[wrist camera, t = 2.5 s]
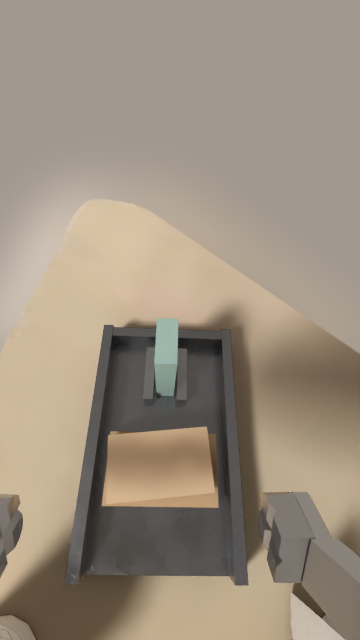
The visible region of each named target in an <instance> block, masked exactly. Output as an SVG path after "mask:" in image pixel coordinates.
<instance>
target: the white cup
mask: <svg viewBox="0 0 360 640" xmlns="http://www.w3.org/2000/svg"><path fill="white" fill-rule="evenodd" d="M0 640H36V639H35V637H34V635H33V633H32V631H31V629H30V627H29V625H28V624H27V623H25V622H23V621H22V620H20V619H18V618H16V617H14V616H13V615H6V616H0Z"/></svg>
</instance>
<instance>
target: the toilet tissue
mask: <svg viewBox="0 0 360 640" xmlns="http://www.w3.org/2000/svg"><path fill="white" fill-rule="evenodd" d="M290 602H291V629H292V635H293V640H347V639H346V638H345V637H344V636H343V635H342V633H341V632H340V631H339V630H338V629H337V627H336V626H335V625H334V624H333V622H332V621H331V620H330V619H329V618H328V616H327V615H324V616H323V617H322V619H321V618H320V617H319V616H318V615H316V614H315V613H314V612H313V611H312V610H311V609H310V608H309V607H308V606H306V605H305V604H304V603H303V602H302V601H300V600H299V599H298V598H297V597H296V596H295V595H294V594H293V593H292V592H291V600H290Z"/></svg>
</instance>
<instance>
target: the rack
mask: <svg viewBox="0 0 360 640" xmlns="http://www.w3.org/2000/svg"><path fill="white" fill-rule="evenodd" d="M155 343H156V329H148V328H121V327H114V325H104V330H103V337H102V343H101V350H100V356H99V363H98V369H97V375H96V382H95V388H94V395H93V401H92V408H91V414H90V421H89V427H88V434H87V440H86V447H85V453H84V459H83V466H82V472H81V479H80V485H79V492H78V498H77V505H76V511H75V518H74V524H73V531H72V537H71V543H70V550H69V556H68V563H67V569H66V576H65V582H64V584H78V583H79V582H80V581H81V580H82V578H83V577H84V576H85V575H145V576H229V577H230V578H231V580H232V581H233V582H234V584H235V585H248V573H247V559H246V545H245V531H244V517H243V503H242V489H241V475H240V461H239V447H238V433H237V419H236V404H235V390H234V376H233V362H232V348H231V334H230V330H229V329H221V331H202V330H178V358H177V371H176V379H175V387H174V395H173V396H157V393H156V380H155V367H154V359H155ZM195 427H207V431H208V434H216V454H217V480H218V506H219V508H198V507H133V506H102V499H103V490H104V482H105V474H106V465H107V454H108V435H110V432H111V431H118V432H149V431H160V430H172V429H184V428H195Z"/></svg>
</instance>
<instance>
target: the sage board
mask: <svg viewBox="0 0 360 640" xmlns="http://www.w3.org/2000/svg"><path fill="white" fill-rule="evenodd" d="M177 358H178V319H162V318H157V326H156V343H155V359H154V367H155V380H156V393H157V396H173V395H174V387H175V379H176V371H177Z"/></svg>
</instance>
